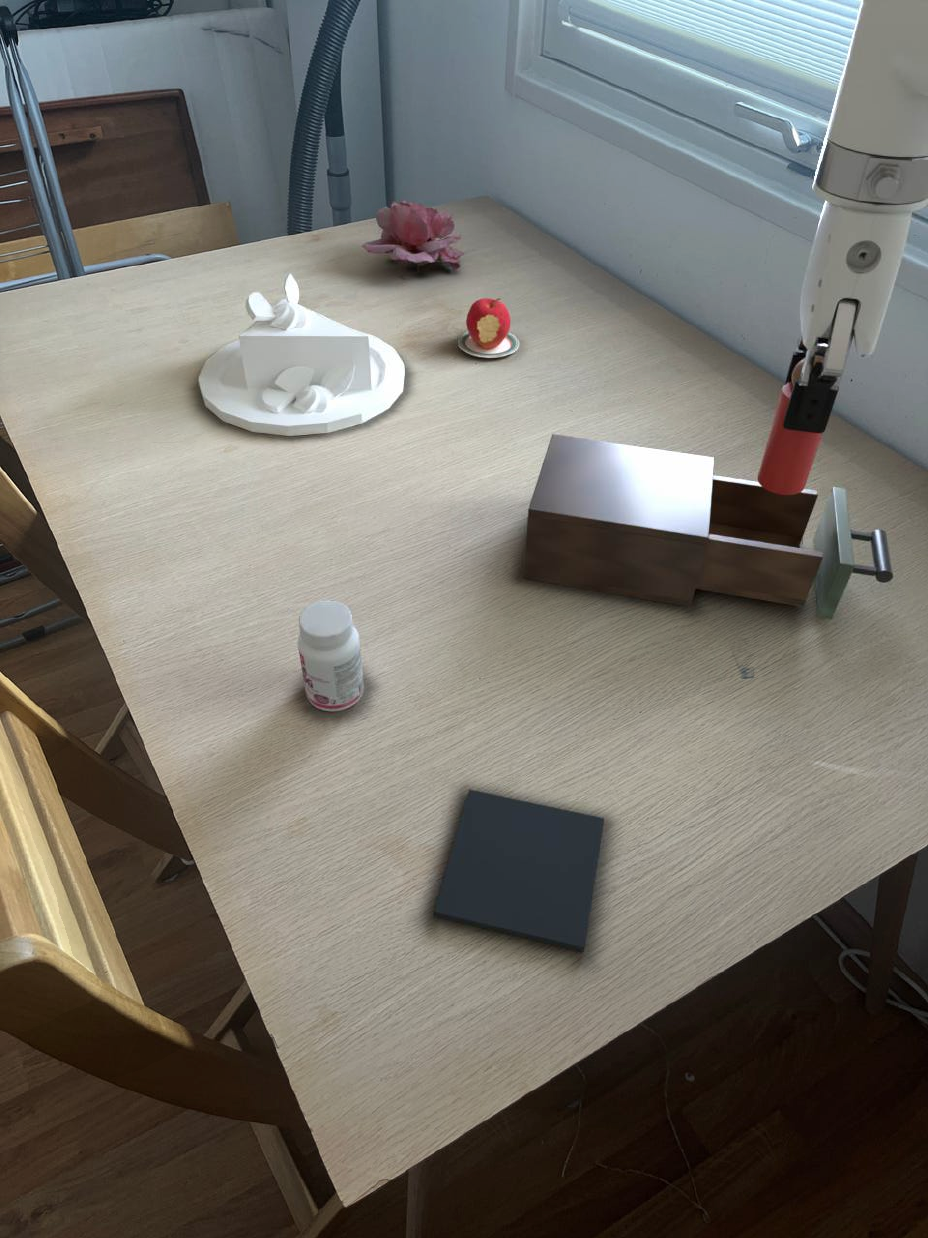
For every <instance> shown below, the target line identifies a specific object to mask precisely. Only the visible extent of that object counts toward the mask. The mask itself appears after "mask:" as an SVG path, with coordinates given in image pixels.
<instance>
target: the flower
mask: <svg viewBox="0 0 928 1238" xmlns="http://www.w3.org/2000/svg"><path fill="white" fill-rule="evenodd" d="M437 209H438V208H433V207H425V206H424V205H422V204H420V203H416V202H414V201H406V200H404V199H402V201H400V202H399V203H397V202H395V200H393V201H392V203H391V206H390V208H389V207H388V206H383V207H382V208H379V209H378V210H377V211H376V213H375V220H376V223H377V226H378V227H379V228H381V230H382V231H381V233H380V238H378V239H374V240H371V241H366V242H364V243H363V244H361V248H363V249H364V251H366V252H368V253H370V254H376V255H377V254H390V253H391V255H390V260H392V261H393V262H394V261H395V262H401V263H403V265H404V267H405V266H406V264H411V265H412V266H414V264H415V265H416V269H417V271H418V273H419V274H421V272H420V266H423V265H427V264H431V263H435V262H436V263H440V264H450V267H451V269H452V271H455V270H457V269H459V268H461V264H460V261H458V259H459V258H461V257H463V256H464V255H465V252H464V251H462V250H459V249H458V248H456V247H454V246H451V245H453V244H455V243H458V241H460V240H461V239H462V234H460V235H451V234H452V233H453V231H454V230H455V223H454V221H453V220H452V219H453V214H452V213H447V212H445V211H438V210H437ZM436 239H437V240H436Z"/></svg>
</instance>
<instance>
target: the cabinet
mask: <svg viewBox="0 0 928 1238" xmlns="http://www.w3.org/2000/svg"><path fill="white" fill-rule="evenodd" d="M714 472H715V457H713V456H708V455H707V456H705V455H700V454H692V453H685V452H679V451H673V450H664V449H658V448H651V447H650V448H649V447H645V446H637V445H630V444H623V443H616V442H610V441H602V440H598V439H597V440H596V439H589V438H583V437H574V436H569V435H562V434H555V433H553V434H551V437H550V440H549V443H548V446H547V450H546V452H545V455H544V459H543V462H542V465H541V469H540V471H539V474H538V477H537V481H536V483H535V487H534V490H533V493H532V496H531V499H530V503H529V506H528V509H527V518H526V519H527V520H526V531H525V544H524V557H523V567H522V579H525V580H530V581H531V580H532V581H537V582H540V583H541V582H542V583H547V584H553V585H559V586H565V587H571V588H577V589H582V590H587V591H594V592H599V593H600V592H601V593H605V594H612V595H617V596H622V597H630V598H635V599H640V600H647V601H652V602H657V603H664V604H669V605H675V606H681V607H686V608H691V607H692V604H693V603H692V602H693V599H694V596H695V591H696V589H695V588H696V585H697V581H698V577H699V573H700V570H701V566H702V562H703V558H704V555H705V551H706V547H707V543H708V540H709V530H710V516H711V502H712V487H713V475H714Z"/></svg>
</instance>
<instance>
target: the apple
mask: <svg viewBox="0 0 928 1238" xmlns="http://www.w3.org/2000/svg"><path fill="white" fill-rule="evenodd" d="M501 300H502V298H500V297H498V298H496V299H494V298H487V297H486V298H480V299H478V300H476V301H474V302H473V303H472V304H471V306H470V307H469V310H468V312H467V314H466V321H465V323H466V324H465V325H466V329H467V331H466V332H465V333H463V334H462V335H461V336H460V337H459V338H458V340H457V341H458V343H457V344H458V347H459V348H460V350H462V351H463V352H465V354H468V355H470V356H474V357H478V358H483V359H485V358H486V359H495V358H496V359H497V358H502V357H507V356H509V355H512V354H513V353H515V352H516V351H517V350H518V349H519V347H520V340H519V338H518V337H516V336H515V335H514V334H513V333H511V332H510V329H511V322H512V321H511V315H510V311H509V310H508V307H507V306H506V305H505V304H504V303H503V302H501Z"/></svg>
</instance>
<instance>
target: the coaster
mask: <svg viewBox="0 0 928 1238" xmlns="http://www.w3.org/2000/svg"><path fill="white" fill-rule="evenodd" d="M604 823H605V818H604V817H599V816H596V815H591V814H585V813H581V812H576V811H572V810H567V809H563V808H557V807H553V806H550V805H549V806H548V805H544V804H540V803H534V802H529V801H525V800H521V799H517V798H516V799H515V798H512V797H507V796H502V795H497V794H492V793H488V792H484V791H478V790H474V789H468V792H467V796H466V798H465V802H464V806H463V808H462V812H461V815H460V820H459V823H458V827H457V830H456V833H455V836H454V840H453V843H452V847H451V851H450V854H449V857H448V860H447V865H446V868H445V871H444V875H443V878H442V882H441V885H440V889H439V892H438V896H437V898H436V902H435V906H434V909H433V917H435V918H441V919H445V920H449V921H454V922H457V923H460V924H465V925H469V926H473V927H477V928H481V929H485V930H491V931H494V932H498V933H502V934H506V935H511V936H515V937H519V938H524V939H528V940H532V941H536V942H540V943H545V944H549V945H553V946H556V947H561V948H565V949H568V950H574V951H577V952H583V953H584V952H585V948H586V942H587V935H588V928H589V921H590V915H591V910H592V909H591V908H592V903H593V897H594V889H595V884H596V883H595V882H596V876H597V870H598V863H599V857H600V851H601V849H600V848H601V844H602V843H601V842H602V835H603V829H604Z"/></svg>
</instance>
